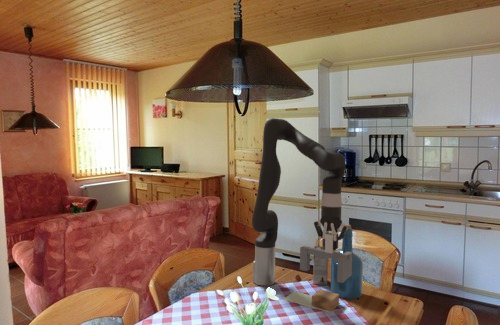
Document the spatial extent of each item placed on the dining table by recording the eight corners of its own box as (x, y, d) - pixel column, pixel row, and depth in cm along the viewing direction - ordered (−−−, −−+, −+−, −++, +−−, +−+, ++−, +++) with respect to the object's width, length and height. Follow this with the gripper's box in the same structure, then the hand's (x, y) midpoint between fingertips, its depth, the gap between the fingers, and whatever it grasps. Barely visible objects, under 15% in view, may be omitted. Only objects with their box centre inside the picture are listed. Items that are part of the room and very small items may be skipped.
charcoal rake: (295, 272, 141) (296, 231, 140) (306, 265, 149) (307, 227, 148) (342, 282, 130) (343, 239, 129) (351, 275, 138) (352, 234, 138)
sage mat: (283, 301, 144) (283, 299, 144) (294, 293, 152) (294, 291, 152) (330, 315, 133) (330, 312, 133) (339, 305, 141) (339, 303, 141)
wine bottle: (344, 286, 161) (346, 220, 160) (368, 297, 150) (370, 226, 149) (322, 292, 154) (324, 223, 153) (346, 304, 143) (348, 229, 142)
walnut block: (311, 306, 138) (311, 295, 138) (319, 299, 145) (320, 289, 145) (331, 311, 134) (331, 301, 134) (338, 304, 140) (339, 294, 140)
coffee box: (313, 279, 170) (314, 245, 170) (327, 280, 169) (328, 246, 168) (312, 286, 161) (313, 251, 161) (327, 287, 160) (328, 252, 159)
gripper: (310, 203, 138) (309, 248, 139) (345, 207, 130) (344, 254, 131) (318, 201, 144) (317, 244, 145) (352, 205, 136) (351, 250, 137)
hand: (330, 248), depth 138 cm, fingers closed on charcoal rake, 3 cm apart
